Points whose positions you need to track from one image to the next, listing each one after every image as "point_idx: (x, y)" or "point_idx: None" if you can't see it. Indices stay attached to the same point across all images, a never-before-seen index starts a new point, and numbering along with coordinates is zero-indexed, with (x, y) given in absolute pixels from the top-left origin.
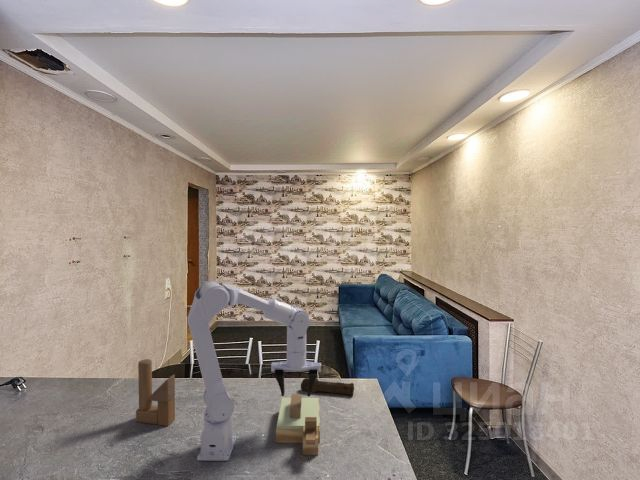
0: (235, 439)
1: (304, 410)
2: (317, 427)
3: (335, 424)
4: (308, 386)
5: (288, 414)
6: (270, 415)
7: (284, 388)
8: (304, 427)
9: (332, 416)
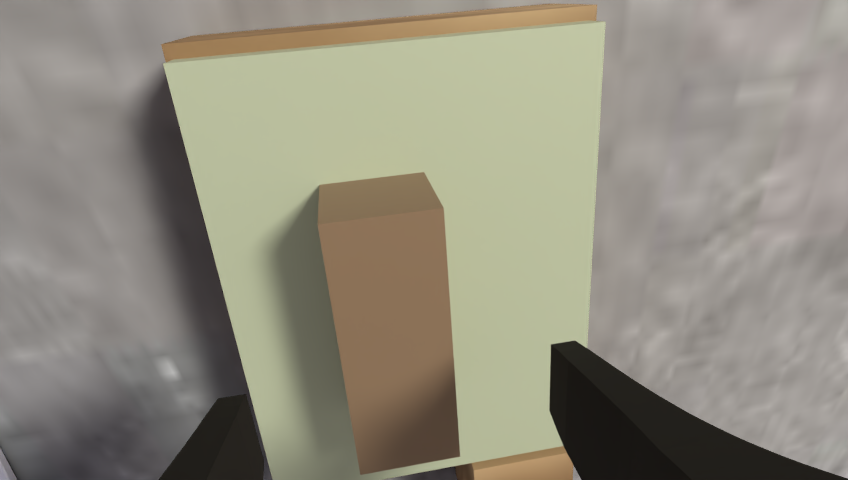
0: (4, 471)
1: (465, 285)
2: (568, 457)
3: (660, 187)
4: (600, 454)
5: (331, 361)
6: (115, 129)
7: (234, 424)
8: (481, 474)
9: (655, 82)
